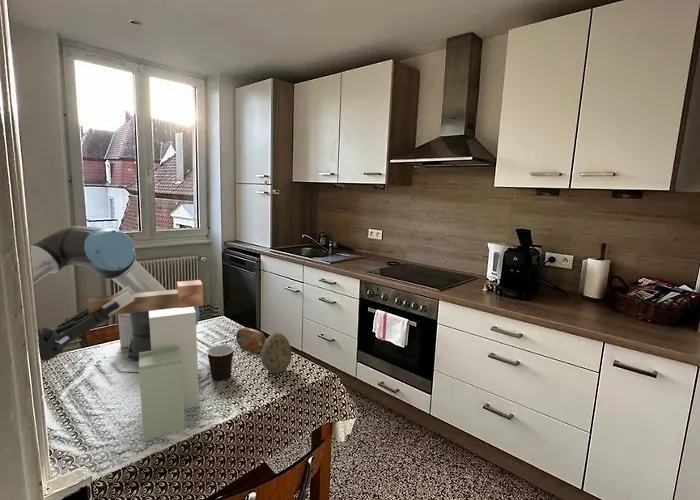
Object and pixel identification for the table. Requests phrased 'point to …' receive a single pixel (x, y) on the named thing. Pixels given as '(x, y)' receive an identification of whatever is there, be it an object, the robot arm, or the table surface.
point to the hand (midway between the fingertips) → (131, 293)
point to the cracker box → (125, 329)
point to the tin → (250, 339)
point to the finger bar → (156, 299)
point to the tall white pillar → (178, 331)
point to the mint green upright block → (161, 392)
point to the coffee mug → (220, 362)
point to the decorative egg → (276, 353)
